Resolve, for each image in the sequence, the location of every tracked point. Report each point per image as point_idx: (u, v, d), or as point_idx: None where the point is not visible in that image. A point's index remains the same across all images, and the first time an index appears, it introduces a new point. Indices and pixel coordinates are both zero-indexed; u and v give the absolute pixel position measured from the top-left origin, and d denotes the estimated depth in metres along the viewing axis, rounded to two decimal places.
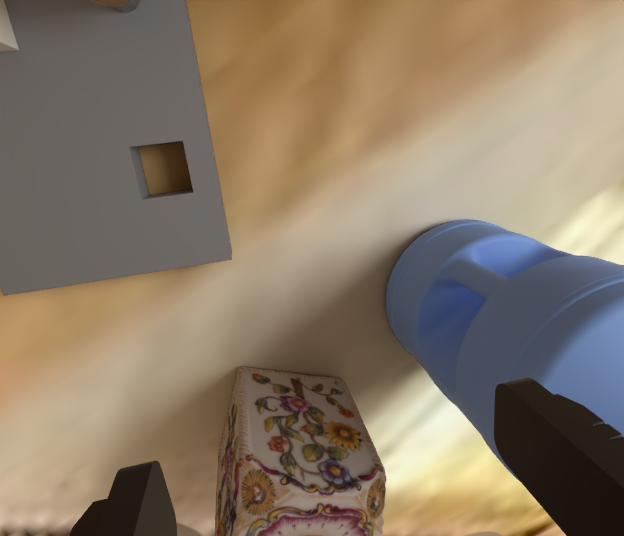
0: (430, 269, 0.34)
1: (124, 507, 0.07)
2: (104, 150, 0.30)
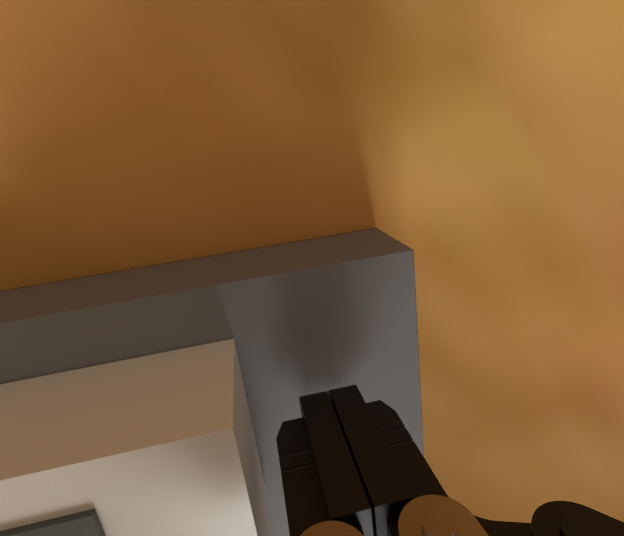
0: None
1: (323, 419, 0.09)
2: None
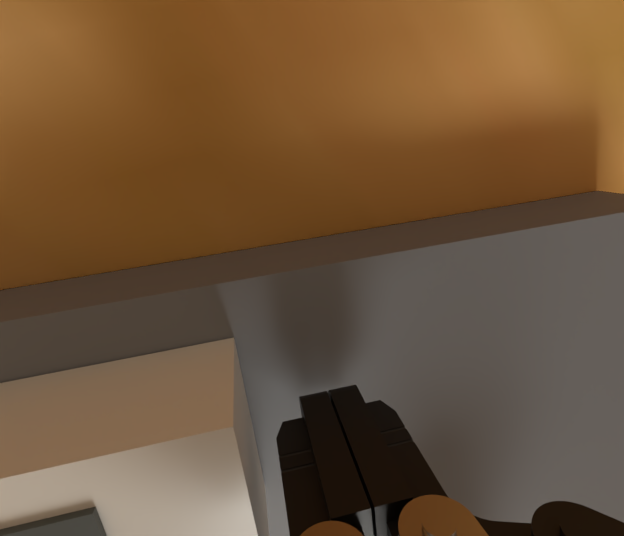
0: None
1: (323, 420, 0.09)
2: None
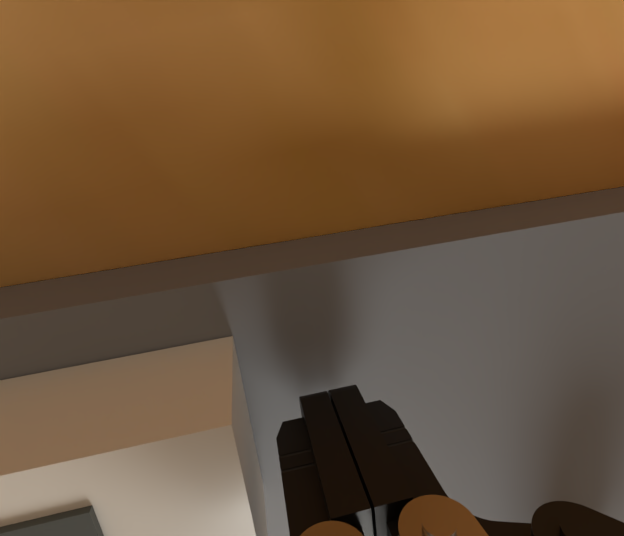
0: None
1: (323, 419, 0.09)
2: None
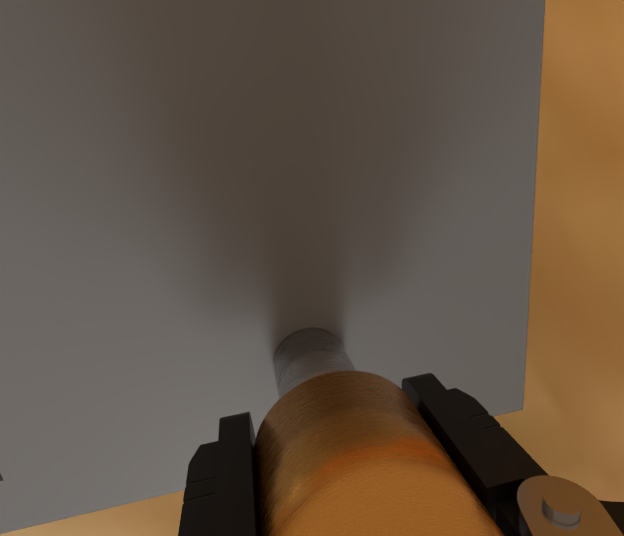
0: None
1: (236, 444, 0.08)
2: None
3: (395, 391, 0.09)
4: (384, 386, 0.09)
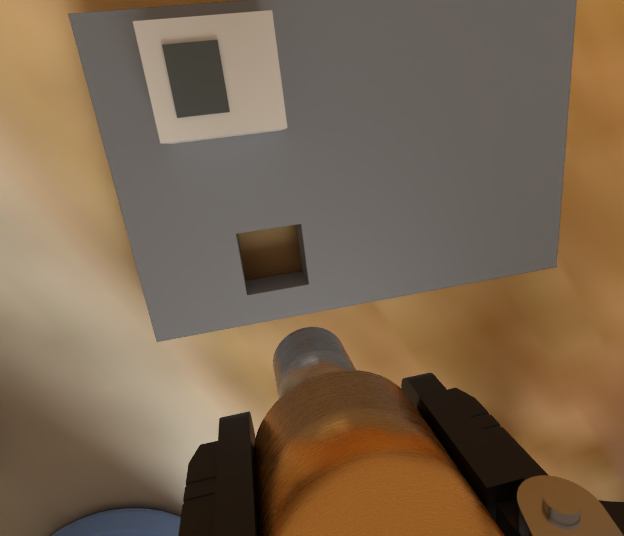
0: None
1: (235, 444, 0.08)
2: (296, 194, 0.24)
3: (395, 391, 0.09)
4: (384, 386, 0.09)
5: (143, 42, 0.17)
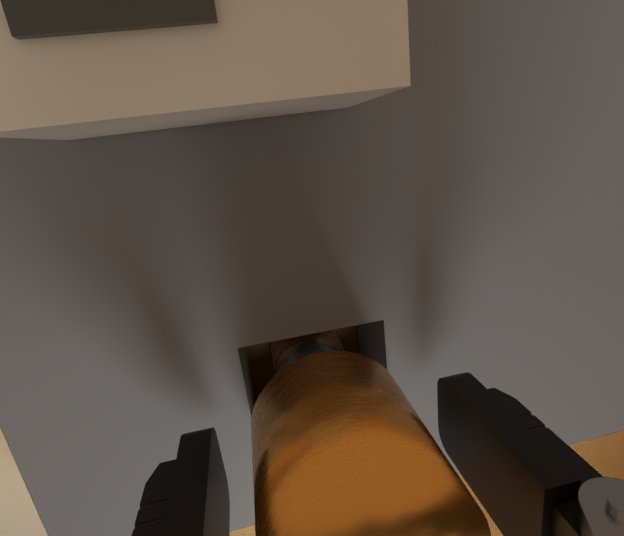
0: None
1: (193, 464, 0.08)
2: (377, 258, 0.10)
3: (378, 369, 0.10)
4: (368, 364, 0.10)
5: None
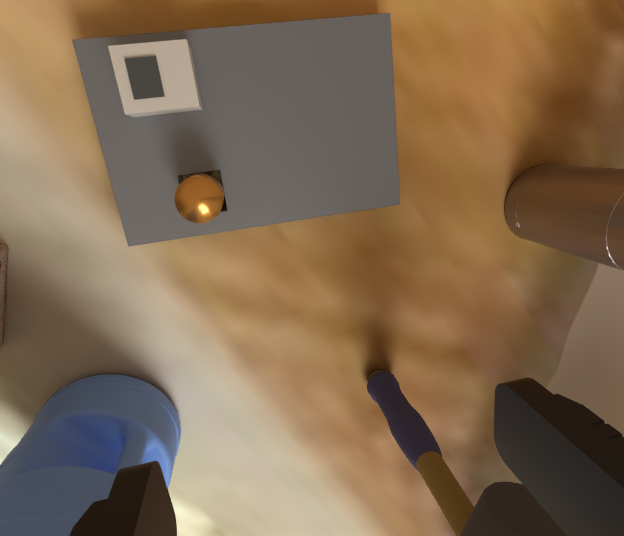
0: (134, 414, 0.41)
1: (124, 507, 0.07)
2: (215, 150, 0.38)
3: (213, 177, 0.37)
4: (210, 175, 0.37)
5: (114, 57, 0.31)
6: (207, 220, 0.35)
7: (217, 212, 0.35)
